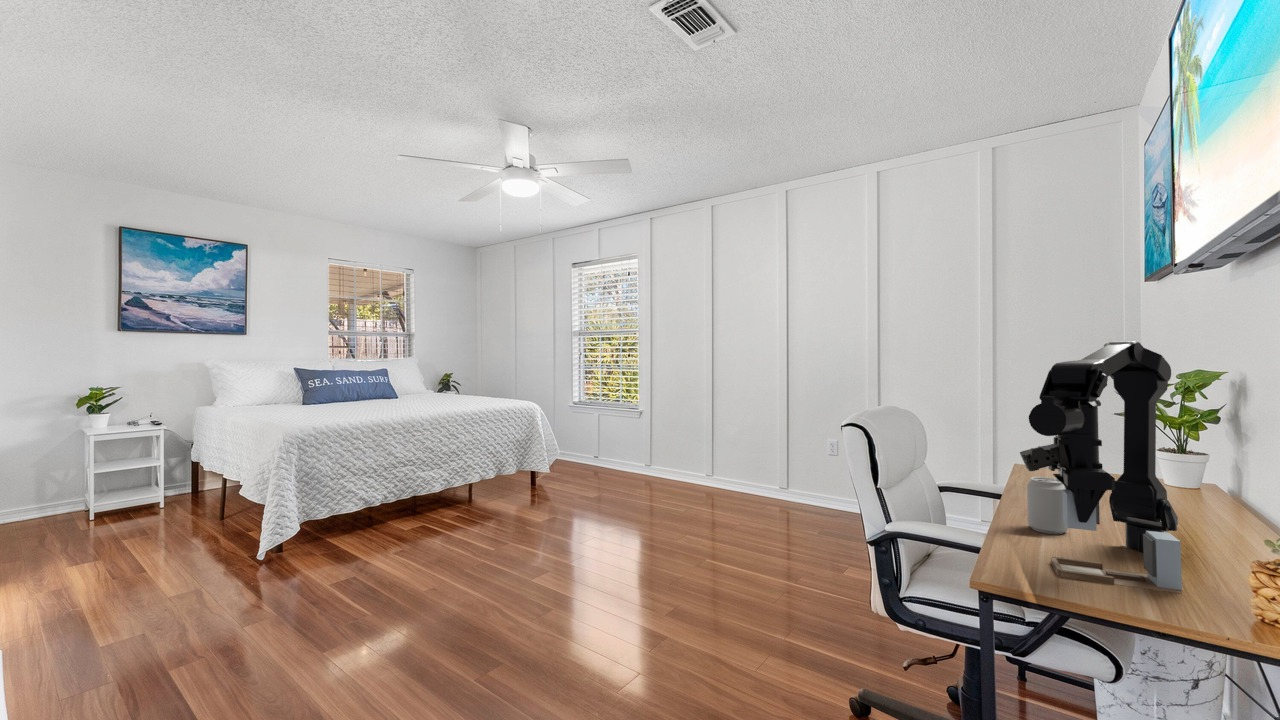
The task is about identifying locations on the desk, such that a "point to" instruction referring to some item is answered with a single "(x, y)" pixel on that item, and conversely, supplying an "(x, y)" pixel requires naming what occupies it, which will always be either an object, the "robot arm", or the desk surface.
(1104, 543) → the desk surface
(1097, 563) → the rail
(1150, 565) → the block
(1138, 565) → the desk surface
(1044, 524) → the can
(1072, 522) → the finger block
